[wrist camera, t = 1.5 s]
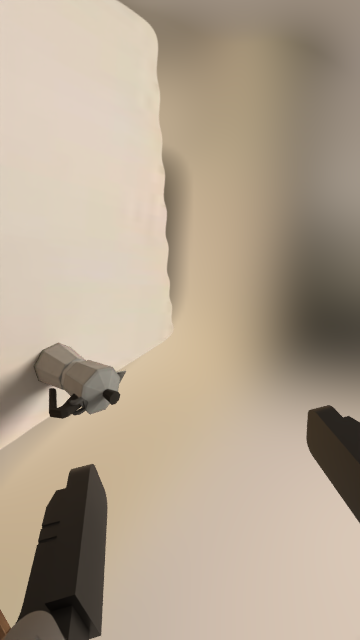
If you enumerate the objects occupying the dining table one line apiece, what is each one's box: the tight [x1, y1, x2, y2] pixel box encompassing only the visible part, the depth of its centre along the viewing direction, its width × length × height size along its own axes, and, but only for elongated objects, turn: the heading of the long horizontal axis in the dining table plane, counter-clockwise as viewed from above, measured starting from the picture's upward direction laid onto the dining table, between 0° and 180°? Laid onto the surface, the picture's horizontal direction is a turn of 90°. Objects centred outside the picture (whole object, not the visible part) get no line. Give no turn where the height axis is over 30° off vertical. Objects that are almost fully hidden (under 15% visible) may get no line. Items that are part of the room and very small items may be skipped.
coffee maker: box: [34, 343, 126, 418], centre depth 53 cm, size 15×9×18 cm, turn 93°
